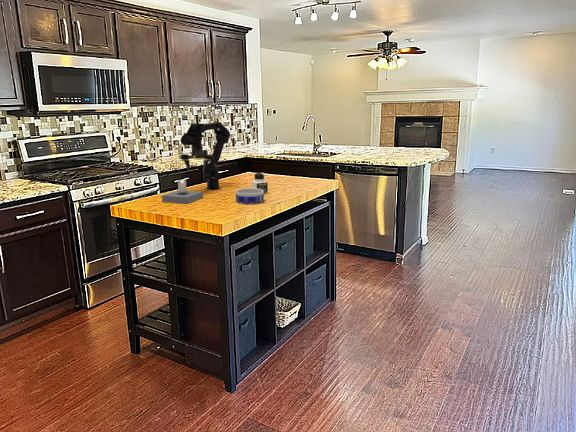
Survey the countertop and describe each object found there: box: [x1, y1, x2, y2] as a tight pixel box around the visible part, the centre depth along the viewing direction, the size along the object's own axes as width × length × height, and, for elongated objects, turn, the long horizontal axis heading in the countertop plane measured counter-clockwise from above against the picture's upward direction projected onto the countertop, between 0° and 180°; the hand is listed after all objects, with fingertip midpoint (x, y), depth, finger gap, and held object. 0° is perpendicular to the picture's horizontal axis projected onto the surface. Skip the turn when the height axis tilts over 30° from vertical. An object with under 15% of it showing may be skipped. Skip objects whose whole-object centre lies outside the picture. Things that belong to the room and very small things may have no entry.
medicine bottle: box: [251, 172, 269, 195], centre depth 262 cm, size 7×7×12 cm
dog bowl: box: [235, 187, 265, 205], centre depth 242 cm, size 15×15×6 cm
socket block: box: [161, 189, 204, 205], centre depth 246 cm, size 16×16×4 cm
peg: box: [177, 179, 188, 195], centre depth 245 cm, size 4×4×11 cm
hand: (196, 171), depth 262 cm, fingers open, 9 cm apart
